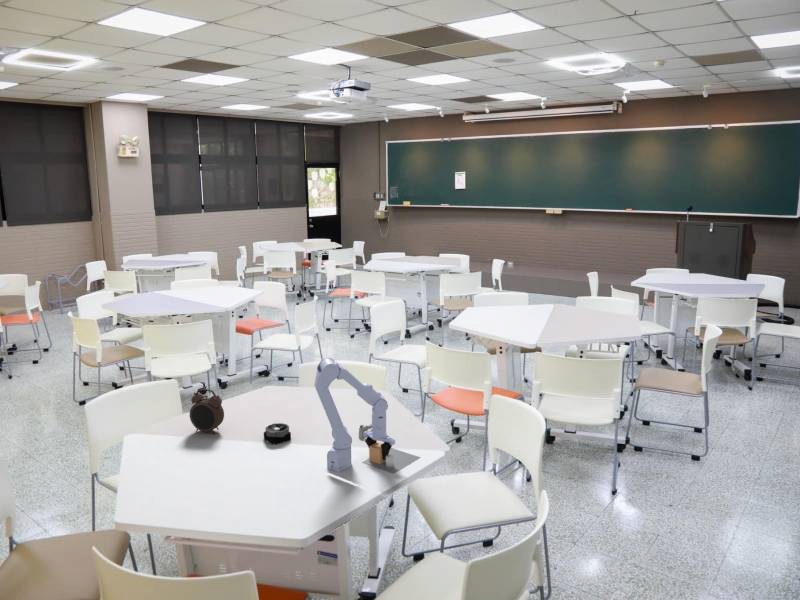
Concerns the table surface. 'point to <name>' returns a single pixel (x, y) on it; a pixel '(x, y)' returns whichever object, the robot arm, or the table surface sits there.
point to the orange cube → (376, 453)
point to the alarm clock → (206, 411)
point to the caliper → (364, 429)
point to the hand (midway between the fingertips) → (379, 457)
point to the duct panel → (394, 461)
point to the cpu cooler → (277, 433)
